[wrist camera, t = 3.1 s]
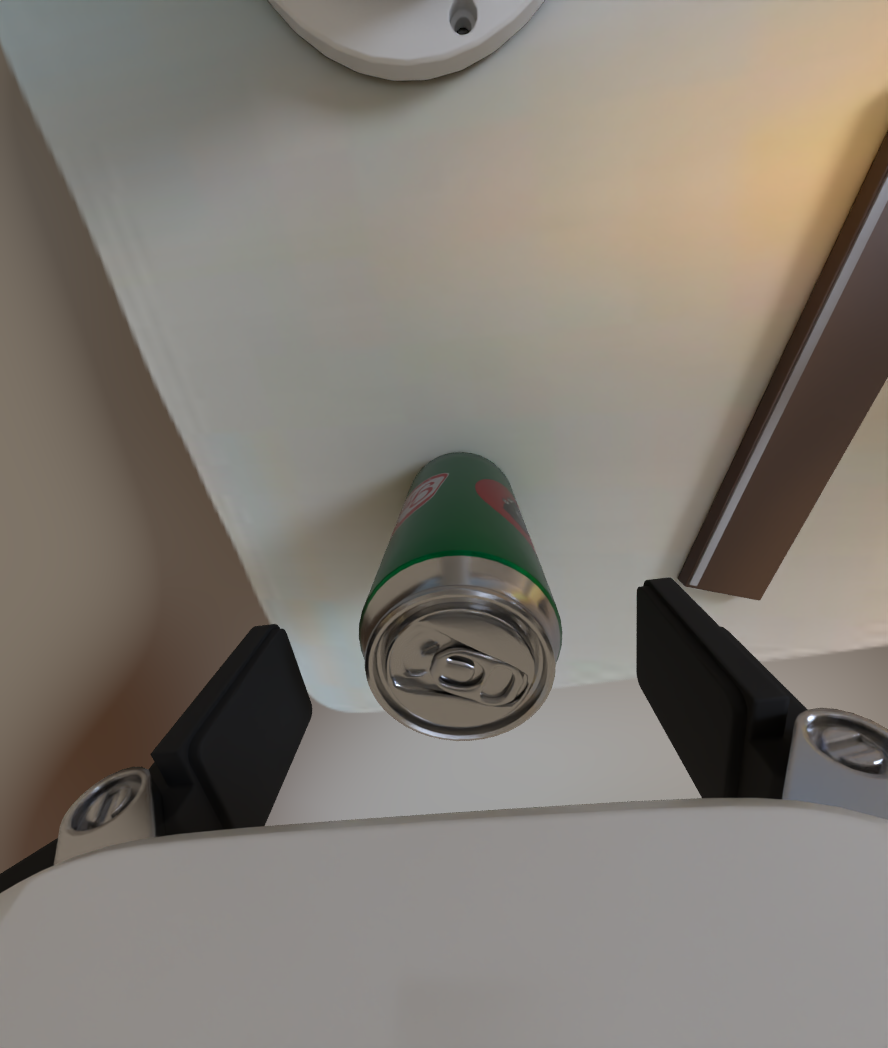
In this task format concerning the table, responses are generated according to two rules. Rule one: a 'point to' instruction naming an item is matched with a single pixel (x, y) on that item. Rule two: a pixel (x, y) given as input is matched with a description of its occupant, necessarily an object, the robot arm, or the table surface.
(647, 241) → the table surface
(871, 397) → the ruler
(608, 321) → the table surface
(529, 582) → the soda can
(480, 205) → the table surface
